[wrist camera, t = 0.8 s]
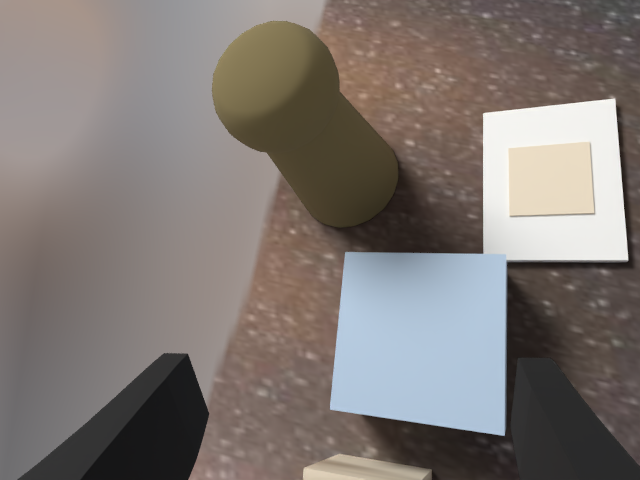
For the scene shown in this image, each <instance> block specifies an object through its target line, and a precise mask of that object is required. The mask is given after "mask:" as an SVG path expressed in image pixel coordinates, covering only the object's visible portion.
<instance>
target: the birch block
mask: <svg viewBox="0 0 640 480" xmlns="http://www.w3.org/2000/svg"><path fill="white" fill-rule="evenodd" d="M303 480H432V469H427V468H421V467H415V466H409V465H403V464H397V463H391V462H385V461H378V460H372V459H366V458H360V457H354V456H348V455H342V454H338V455H336V456H333V457H331V458H328V459H325V460H323V461H320V462H318V463H315V464H313V465H310V466H308V467H305V468H304V473H303Z"/></svg>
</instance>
